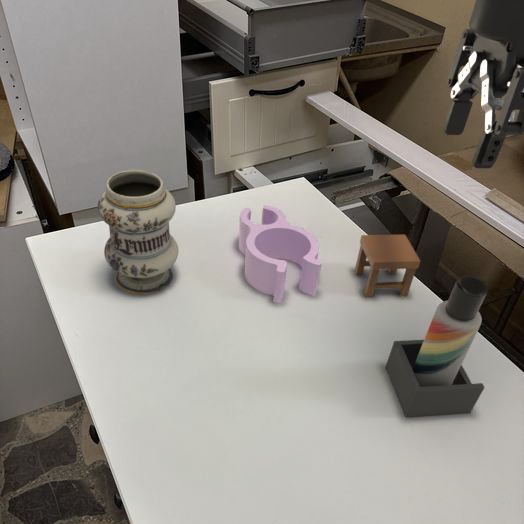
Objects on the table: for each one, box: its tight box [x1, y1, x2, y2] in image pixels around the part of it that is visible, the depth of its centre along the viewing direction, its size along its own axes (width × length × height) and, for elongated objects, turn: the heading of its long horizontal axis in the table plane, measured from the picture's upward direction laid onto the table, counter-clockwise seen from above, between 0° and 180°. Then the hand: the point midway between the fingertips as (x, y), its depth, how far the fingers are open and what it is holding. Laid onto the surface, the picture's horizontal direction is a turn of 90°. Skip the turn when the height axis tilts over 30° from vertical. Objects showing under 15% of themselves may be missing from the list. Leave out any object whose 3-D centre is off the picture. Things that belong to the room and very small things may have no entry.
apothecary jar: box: [97, 169, 179, 295], centre depth 85 cm, size 12×12×18 cm
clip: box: [238, 204, 323, 304], centre depth 93 cm, size 20×12×7 cm, turn 22°
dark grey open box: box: [385, 339, 485, 419], centre depth 75 cm, size 10×10×6 cm
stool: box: [354, 234, 421, 298], centre depth 91 cm, size 8×8×8 cm
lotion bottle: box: [412, 275, 489, 387], centre depth 70 cm, size 6×6×20 cm
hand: (466, 149), depth 59 cm, fingers open, 8 cm apart
